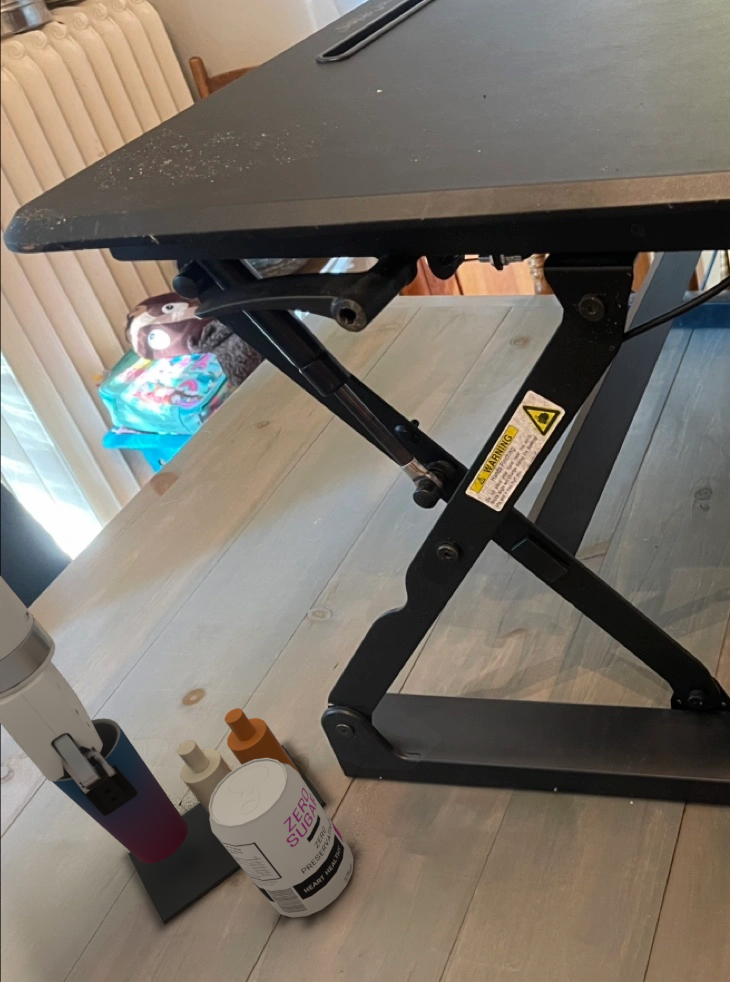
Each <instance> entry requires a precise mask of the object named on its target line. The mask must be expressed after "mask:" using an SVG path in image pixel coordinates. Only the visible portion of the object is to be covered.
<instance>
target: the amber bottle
mask: <svg viewBox="0 0 730 982" xmlns="http://www.w3.org/2000/svg"><path fill="white" fill-rule="evenodd" d="M224 722H225V724H226V725H227V726H228V728H229V729H230V730H231V731H230V733H229V735H228V737H227V740H226V744H227V747H228V748H229V750H230V752H231V753H232V754H233V755H234V757H235V758H236V759H237V761H238V762H239V764H240V765H242V764H244V763H247V762H249V761H252V760H254V759H262V758H270V759H274V760H278V761H279V762H280V763H284V764H288V765H290V766H291V767H292V768H294V769H295V770H296V771H297V772H298V773H299V775H300V776H301V774H300V772H299V771H298V769H297V768H296V766H295V765H294V763H293V762H292V761H291V759H290V758H289V756H288V755H287V753H286V752H285V750H284V749H283V747H282V744H281V743H280V742H279V740H278V738H277V737H276V735H275V734H274V733H273V731H272V730H271V728H270V727H269V725H268V724H267V723H266V721H265V720H264V719H263V718H259V717H253V718H248V716H247V715H246V713H245V712H244V710H243V709H241V708H237V707H236V708H232V709H231V710H229V711H228V712H227V713H226V715H225V716H224ZM301 778H302V776H301Z"/></svg>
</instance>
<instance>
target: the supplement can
mask: <svg viewBox="0 0 730 982" xmlns="http://www.w3.org/2000/svg"><path fill="white" fill-rule="evenodd" d="M232 770H233V771H231V772H230V773H228V774H227V775H226V777H225V778H224V779H223V780H222V781H221V782H220V783H219V784H218V785H217V787H216V789H215V790H214V792H213V794H212V795H211V799H210V804H209V811H210V819H209V820H210V825H211V829H212V832H213V833H214V834H215V836H216V837H217V838H218V839H219V841H220V842H221V843H222V844H223V845H224V847H225V848H226V849H227V850H228V852H229V853H230V854H231V855H232V857H233V858H234V859H235V860H236V861H237V863H238V864H239V865H240V866H241V868H240V869H242V870H243V871H244V873H245V874H246V875H247V877H248V878H249V879H250V880H251V881H252V883H253V884H254V885H255V886H256V888H257V889H258V890H259V891H260V892H261V894H262V895H263V896H264V897H265V899H266V900H267V901H268V902H269V903H270V905H271V906H272V907H273V908H274V909H275V910H276V911H277V912H278V913H279V914H280V915H283V916H285V917H290V918H300V917H307V916H311V915H312V914H315V913H317V912H319V911H322V910H324V909H325V908H326V907H327V906H329V905H330V904H331V903H332V902H334V901H335V900H336V899H337V898H338V897H339V895H340V894H341V893H342V892H343V891H344V889H345V888H346V887H347V885H348V882H349V881H350V878H351V876H352V874H353V872H354V860H355V859H354V856H353V853H352V849H351V847H350V846H349V844H348V843H347V841H346V840H345V839H344V837H343V836H342V835H341V833H340V831H339V830H338V829H337V827H336V825H335V824H334V823H333V821H332V820H331V818H330V817H329V815H328V814H327V812H326V811H325V809H324V808H323V807H321V805H320V804H319V802H318V801H317V799H316V798H315V797H314V795H313V794H312V792H311V791H310V789H309V788H308V786H307V785H306V783H305V782H304V781H303V779H302V778H301V776H300V775H299V773H298V772H297V771H296V770H295V769H294V768H292V767H291V766H290V765H288V764H284V763H280V762H279V761H278V760H274V759H270V758H262V759H254V760H252V761H249V762H247V763H244V764H242V765H241V764H240V765H238V766H237V767H236V768H234V769H232Z"/></svg>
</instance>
